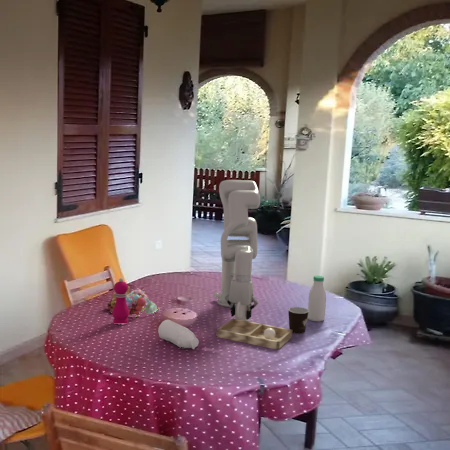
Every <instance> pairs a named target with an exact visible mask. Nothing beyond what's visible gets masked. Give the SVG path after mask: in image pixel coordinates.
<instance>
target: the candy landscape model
mask: <svg viewBox="0 0 450 450" xmlns="http://www.w3.org/2000/svg"><path fill="white" fill-rule="evenodd" d="M129 291H130V286H129V285H128V290H127V292H126V293H127V296H126V304H127V306H128V309H129V315H132V314H136V316H135V317H137V316H140V315H139V314H140V312H139V311H144V310H146V311H145V313H147V314H151V313H154V312H156V311H157V310H158V309H159V310H160V305H159V304H158V305H157V304H156V303H154V301H152V300H150V299H149V297H148V294H147V293H146V291H145V290H144V291H143V290H141V288H139V289H134V290H132V291H131V292H129ZM115 293H116V292H114V293H112V295H111V296H112V298H111V299H110V301H109V302H108V303H107V305H106V307H105V309H106V310H107V311H109V312H113V308H114V306H115V304H116V296H115ZM144 306H146V307H145V308H144Z"/></svg>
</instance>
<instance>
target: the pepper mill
mask: <svg viewBox="0 0 450 450" xmlns="http://www.w3.org/2000/svg"><path fill="white" fill-rule="evenodd" d="M128 286H129V285H128V283H127V282H125V281H124V278H123V277H120V278H119V279H118V281H117V282H116V283H115V284H114V286H113V291H114V293H115V296H116V304H115V306H114V308H113V312H112V313H111V314H112V317H113V322H114V323H127V322H128V323H129V318H128V316H129V309H128V306H127V304H126V296H127V293H126V292H127V290H128ZM114 323H113V324H114Z"/></svg>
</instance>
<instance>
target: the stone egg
mask: <svg viewBox="0 0 450 450" xmlns="http://www.w3.org/2000/svg"><path fill="white" fill-rule="evenodd" d="M275 335H276V334H275V331H274V330H273V329H272V328H267V329H266V330H265V331H264V337H265V338H266V339H270V340H272V339H274V338H275Z"/></svg>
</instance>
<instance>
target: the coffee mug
mask: <svg viewBox="0 0 450 450" xmlns="http://www.w3.org/2000/svg"><path fill="white" fill-rule="evenodd" d="M287 312H288V326H289V328H288V329H291V330H293V331H292V334H298V335H300V334H304V333H305V332H306V328H307V327H306V326H307V322H308V313H309V310H308V308H305V307H300V306H292V307H289V308H288V310H287Z"/></svg>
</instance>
